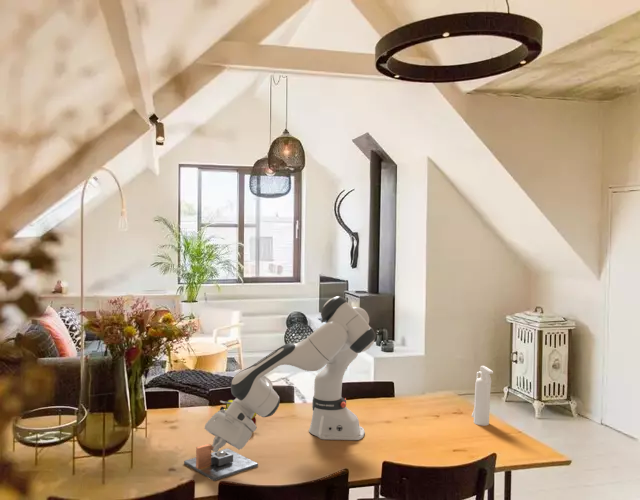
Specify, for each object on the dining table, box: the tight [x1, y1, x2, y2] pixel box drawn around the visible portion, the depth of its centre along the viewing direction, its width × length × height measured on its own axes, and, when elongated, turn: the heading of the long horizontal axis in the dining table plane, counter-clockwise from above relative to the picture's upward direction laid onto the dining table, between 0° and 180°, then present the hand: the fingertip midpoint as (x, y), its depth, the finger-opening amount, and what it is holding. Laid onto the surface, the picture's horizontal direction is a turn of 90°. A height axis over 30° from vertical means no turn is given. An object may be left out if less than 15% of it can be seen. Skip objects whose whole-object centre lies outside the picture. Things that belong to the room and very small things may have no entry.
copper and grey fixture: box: [195, 443, 233, 469], centre depth 200 cm, size 12×6×7 cm, turn 133°
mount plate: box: [183, 448, 259, 482], centre depth 202 cm, size 18×18×4 cm
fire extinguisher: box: [471, 365, 494, 427], centre depth 255 cm, size 7×12×25 cm, turn 16°
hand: (212, 450), depth 199 cm, fingers closed, pressing on copper and grey fixture
